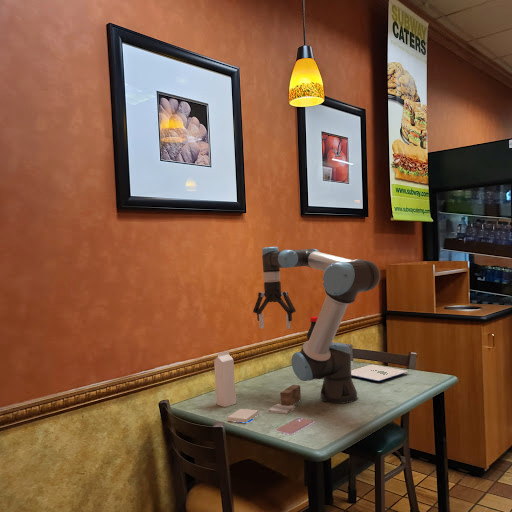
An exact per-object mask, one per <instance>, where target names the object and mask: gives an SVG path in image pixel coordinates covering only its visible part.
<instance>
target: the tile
mask: <svg viewBox="0 0 512 512" xmlns="http://www.w3.org/2000/svg"><path fill="white" fill-rule="evenodd" d="M259 413H260V412H259V410H258V409H257V410H256V409H247V408H239V409H238V410H236V411H235V412H233V413H231V414H230V415H228V416H227V422H228V421H237V422H248V421H249V420H251V419H253V418H254V417H255V416H257V415H258V416H259V415H260V414H259ZM258 416H257V417H258ZM255 418H256V417H255ZM255 418H254V419H255ZM254 419H253V420H254ZM251 421H252V420H251Z"/></svg>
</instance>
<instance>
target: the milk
mask: <svg viewBox="0 0 512 512" xmlns="http://www.w3.org/2000/svg"><path fill="white" fill-rule="evenodd" d="M234 362H235V361H234V358H233V357H232V356H231V355H230V351H229V350H226V351H222V352H217V357H216V358H214V360H213V363H214V365H213V366H214V382H215V383H214V384H215V396H216V398H215V400H216V405H218V406H221V407H223V408H226V407H230V406H233V405H236V404H237V398H236V393H237V392H236V382H235V377H236V376H235V363H234Z"/></svg>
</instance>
